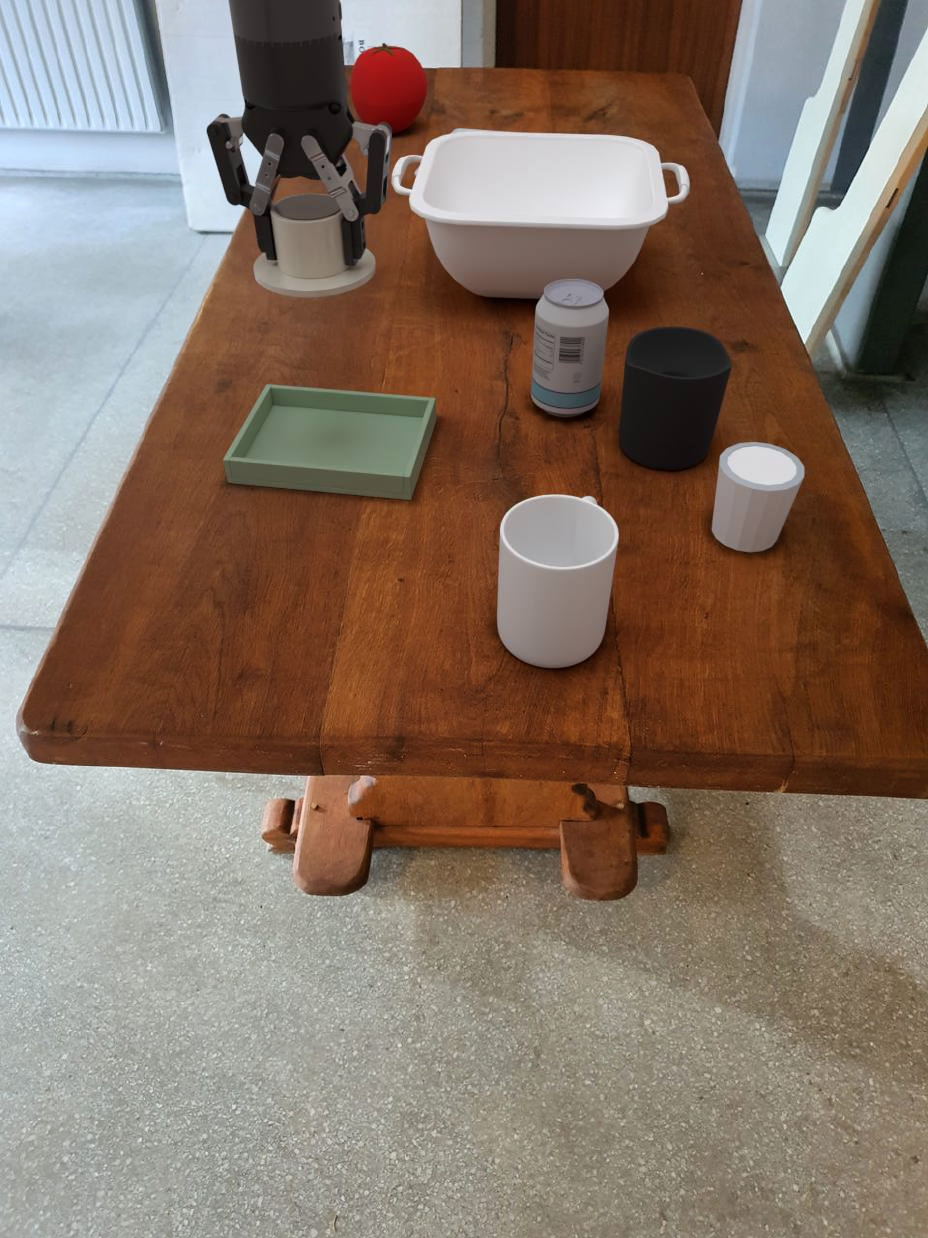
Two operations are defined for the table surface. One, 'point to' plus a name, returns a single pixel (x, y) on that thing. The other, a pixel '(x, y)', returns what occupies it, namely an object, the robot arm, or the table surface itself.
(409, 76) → the tomato
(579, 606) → the cup
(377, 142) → the robot arm
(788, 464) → the white short cylinder
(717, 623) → the table surface
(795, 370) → the table surface
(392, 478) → the tray
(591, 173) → the baking dish
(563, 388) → the beverage can
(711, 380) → the pen holder
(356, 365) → the table surface
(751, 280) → the table surface
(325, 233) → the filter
